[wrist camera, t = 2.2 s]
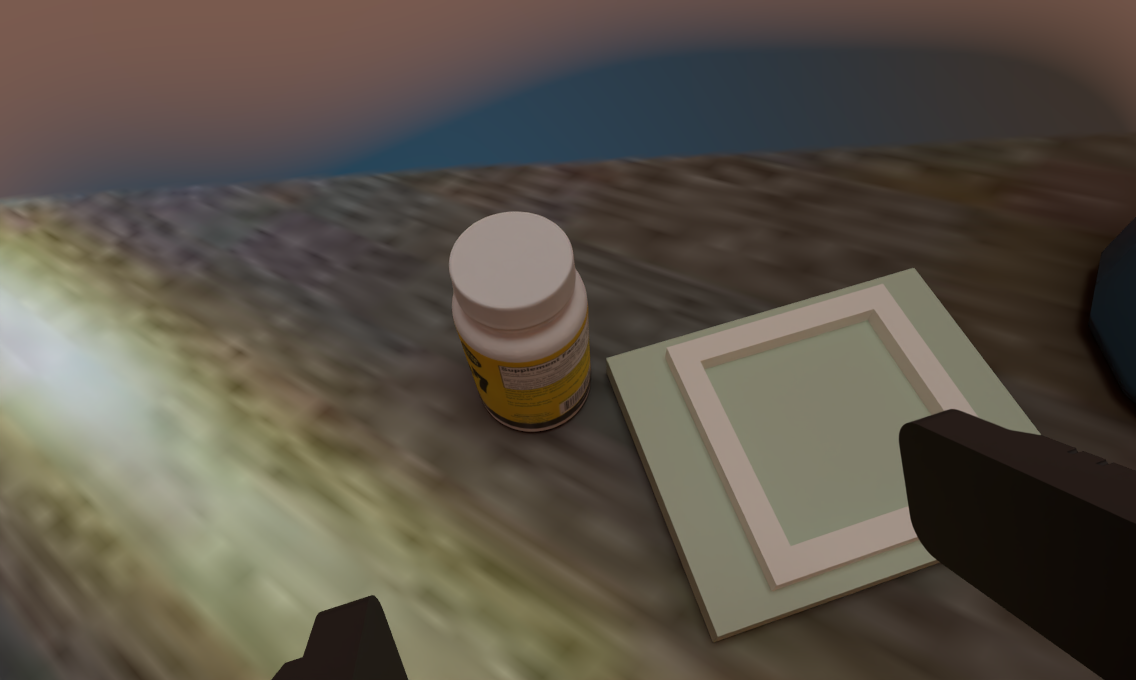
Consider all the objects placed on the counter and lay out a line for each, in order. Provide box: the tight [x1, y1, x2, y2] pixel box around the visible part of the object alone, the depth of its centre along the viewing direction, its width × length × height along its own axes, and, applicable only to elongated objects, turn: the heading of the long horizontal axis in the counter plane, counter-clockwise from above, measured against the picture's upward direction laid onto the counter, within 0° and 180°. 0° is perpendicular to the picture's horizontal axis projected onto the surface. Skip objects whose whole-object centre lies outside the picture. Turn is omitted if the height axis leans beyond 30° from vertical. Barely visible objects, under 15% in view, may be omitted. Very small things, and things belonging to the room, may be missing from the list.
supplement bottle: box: [449, 212, 591, 432], centre depth 25 cm, size 5×5×8 cm
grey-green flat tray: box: [606, 268, 1041, 643], centre depth 26 cm, size 14×11×2 cm
